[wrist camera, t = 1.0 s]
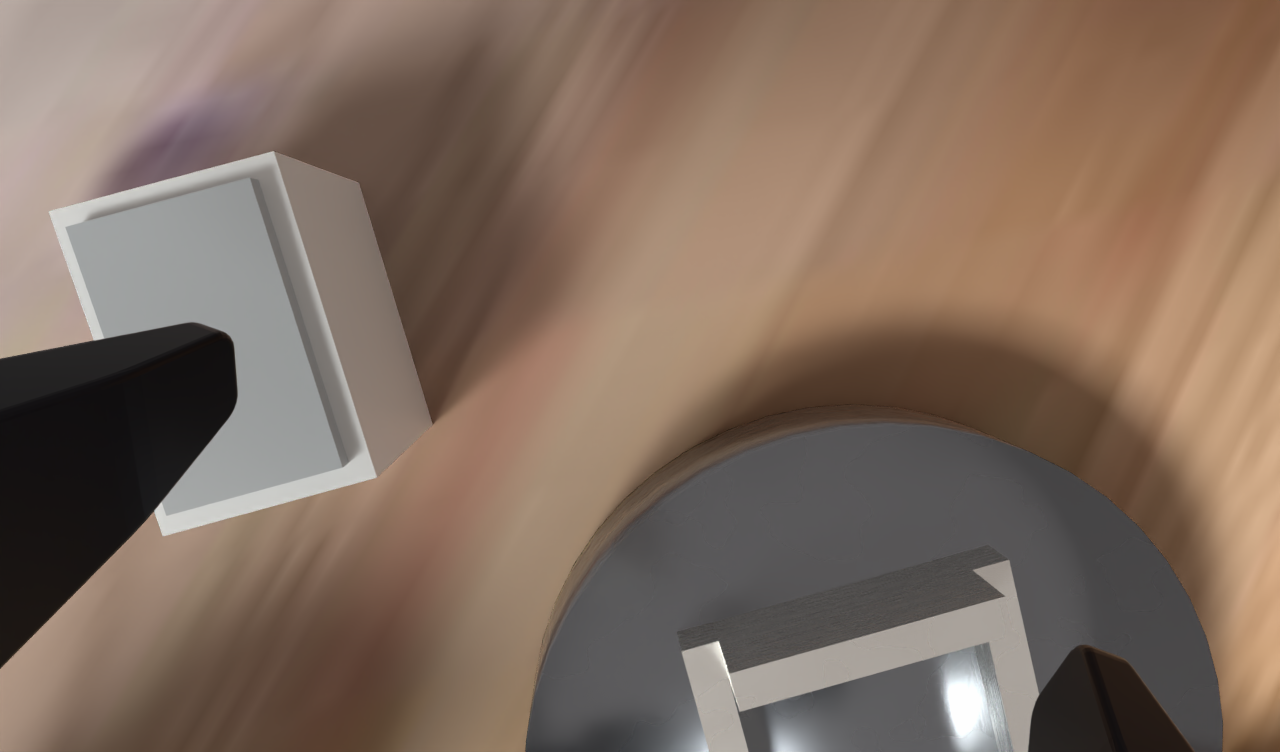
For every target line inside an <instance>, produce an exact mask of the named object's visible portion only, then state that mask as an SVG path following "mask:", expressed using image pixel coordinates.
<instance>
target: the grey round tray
mask: <svg viewBox="0 0 1280 752" xmlns="http://www.w3.org/2000/svg"><path fill="white" fill-rule="evenodd" d="M1078 645H1090V646H1092V647H1095V648H1098V649H1101V650H1103V651H1106V652H1109V653H1112V654H1114V655H1117V656H1120V657H1122V658H1124V659H1125V660H1126V661H1128V662H1129V663H1130V665H1131V666H1132V667H1133V668H1134V669H1135V671H1136V672H1137V673H1138V675H1139V676H1140V678H1141V679H1142V680H1143V682H1144V683H1145V684H1146V686H1147V687H1148V688H1149V690H1150V691H1151V693H1152V694H1153V695H1154V697H1155V698H1156V699H1157V701H1158V702H1159V703H1160V705H1161V706H1162V708H1163V709H1164V710H1165V712H1166V713H1167V714H1168V716H1169V717H1170V719H1171V720H1172V721H1173V723H1174V724H1175V725H1176V727H1177V728H1178V729H1179V731H1180V732H1181V734H1182V735H1183V736H1184V738H1185V739H1186V740H1187V742H1188V743H1189V744H1190V746H1191V747H1192V749H1193V750H1194V751H1195V752H1222V736H1223V720H1222V712H1221V704H1220V695H1219V687H1218V679H1217V675H1216V672H1215V668H1214V664H1213V660H1212V657H1211V653H1210V649H1209V645H1208V642H1207V638H1206V635H1205V633H1204V631H1203V628H1202V626H1201V624H1200V621H1199V619H1198V617H1197V614H1196V612H1195V610H1194V607H1193V605H1192V603H1191V600H1190V598H1189V596H1188V595H1187V593H1186V591H1185V590H1184V588H1183V586H1182V585H1181V583H1180V581H1179V580H1178V578H1177V576H1176V575H1175V573H1174V571H1173V570H1172V568H1171V567H1170V565H1169V563H1168V562H1167V560H1166V559H1165V558H1164V557H1163V555H1162V554H1161V553H1160V552H1159V550H1158V549H1157V548H1156V547H1155V546H1154V544H1153V543H1152V542H1151V541H1150V539H1149V538H1148V537H1147V536H1146V535H1145V533H1144V532H1143V531H1142V530H1141V529H1140V527H1139V526H1138V525H1136V524H1135V523H1134V522H1133V521H1132V520H1131V519H1130V518H1129V517H1128V516H1127V515H1126V514H1124V513H1123V512H1122V511H1121V510H1120V509H1119V508H1118V507H1117V506H1116V505H1115V504H1114V503H1112V502H1111V501H1110V500H1109V499H1108V498H1107V497H1106V496H1104V495H1103V494H1101V493H1100V492H1098V491H1097V490H1095V489H1094V488H1092V487H1091V486H1090V485H1088V484H1087V483H1085V482H1084V481H1082V480H1081V479H1079V478H1078V477H1076V476H1075V475H1073V474H1072V473H1071V472H1069V471H1067V470H1065V469H1063V468H1061V467H1059V466H1057V465H1055V464H1053V463H1051V462H1049V461H1047V460H1045V459H1043V458H1041V457H1039V456H1037V455H1035V454H1033V453H1031V452H1028V451H1026V450H1024V449H1021V448H1019V447H1017V446H1014V445H1012V444H1009V443H1007V442H1005V441H1002V440H1000V439H998V438H995V437H993V436H990V435H988V434H986V433H983V432H981V431H979V430H976V429H974V428H971V427H969V426H966V425H963V424H960V423H957V422H954V421H951V420H948V419H945V418H942V417H939V416H936V415H933V414H928V413H923V412H917V411H912V410H907V409H902V408H896V407H888V406H870V405H853V404H850V405H837V406H824V407H810V408H805V409H800V410H795V411H791V412H786V413H781V414H776V415H771V416H767V417H764V418H762V419H759V420H756V421H753V422H750V423H747V424H744V425H741V426H738V427H736V428H733V429H730V430H727V431H725V432H723V433H721V434H719V435H717V436H715V437H713V438H711V439H709V440H707V441H705V442H703V443H701V444H699V445H697V446H695V447H693V448H691V449H690V450H688V451H687V452H685V453H684V454H682V455H681V456H679V457H678V458H676V459H675V460H673V461H672V462H670V463H669V464H667V465H666V466H664V467H663V468H661V469H660V470H658V471H657V472H655V473H654V474H653V475H652V476H651V477H650V478H648V479H647V480H646V481H645V482H644V483H643V484H642V485H640V486H639V487H638V488H637V489H636V490H635V491H634V492H632V493H631V494H630V495H629V496H628V497H627V498H626V499H624V501H623V502H622V503H621V504H620V505H619V506H618V507H617V508H616V510H615V511H614V512H613V513H612V514H611V515H610V516H609V518H608V519H607V520H606V521H605V522H604V523H603V524H602V525H601V527H600V528H599V529H598V530H597V531H596V533H595V534H594V536H593V537H592V539H591V540H590V542H589V543H588V545H587V546H586V548H585V549H584V550H583V552H582V553H581V555H580V556H579V558H578V559H577V561H576V562H575V564H574V565H573V567H572V569H571V571H570V574H569V576H568V578H567V580H566V582H565V584H564V586H563V588H562V590H561V592H560V594H559V596H558V598H557V600H556V602H555V605H554V608H553V611H552V614H551V617H550V620H549V623H548V626H547V628H546V631H545V634H544V637H543V641H542V646H541V651H540V656H539V662H538V667H537V672H536V677H535V684H534V690H533V697H532V704H531V711H530V718H529V724H528V731H527V738H526V752H1028V745H1029V734H1030V723H1031V716H1032V711H1033V708H1034V705H1035V702H1036V700H1037V698H1038V696H1039V694H1040V693H1041V691H1042V690H1043V689H1044V687H1045V686H1046V685H1047V683H1048V682H1049V680H1050V679H1051V678H1052V676H1053V675H1054V673H1055V672H1056V671H1057V669H1058V668H1059V666H1060V665H1061V664H1062V662H1063V661H1064V660H1065V658H1066V657H1067V655H1068V654H1069V653H1070V652H1071V651H1072V650H1073V649H1074V648H1075V647H1077V646H1078Z"/></svg>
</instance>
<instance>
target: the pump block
mask: <svg viewBox="0 0 1280 752" xmlns="http://www.w3.org/2000/svg"><path fill="white" fill-rule="evenodd" d="M49 214H50V217H51V220H52V223H53V226H54V229H55V231H56V234H57V237H58V240H59V243H60V246H61V248H62V251H63V254H64V257H65V260H66V263H67V265H68V268H69V271H70V274H71V277H72V280H73V283H74V285H75V288H76V291H77V294H78V297H79V300H80V302H81V305H82V308H83V311H84V314H85V317H86V320H87V322H88V325H89V328H90V331H91V334H92V337H93V339H94V340H100V339H105V338H110V337H115V336H120V335H125V334H131V333H136V332H141V331H146V330H151V329H156V328H162V327H167V326H172V325H177V324H182V323H188V322H197V323H201V324H204V325H207V326H209V327H212V328H215V329H218V330H221V331H223V332H225V333H227V334H228V335H229V336H230V337H231V339H232V341H233V343H234V348H235V362H236V375H237V388H238V398H237V403H236V406H235V409H234V411H233V413H232V414H231V416H230V417H229V419H228V420H227V421H226V423H225V424H224V425H223V426H222V428H221V429H220V430H219V431H218V433H217V434H216V435H215V436H214V438H213V439H212V440H211V441H210V443H209V444H208V445H207V446H206V447H205V449H204V450H203V451H202V452H201V454H200V455H199V456H198V457H197V459H196V460H195V461H194V462H193V464H192V465H191V466H190V467H189V469H188V470H187V471H186V472H185V474H184V475H183V476H182V477H181V479H180V480H179V481H178V482H177V484H176V485H175V486H174V487H173V489H172V490H171V491H170V492H169V494H168V495H167V496H166V497H165V498H164V500H163V501H162V502H161V503H160V505H159V506H158V507H157V508H156V509H155V510H154V513H155V516H156V519H157V521H158V524H159V527H160V530H161V533H162V536H166V535H170V534H174V533H177V532H181V531H185V530H188V529H192V528H195V527H199V526H203V525H206V524H210V523H214V522H217V521H221V520H225V519H228V518H232V517H236V516H239V515H243V514H246V513H250V512H254V511H257V510H261V509H265V508H268V507H272V506H276V505H279V504H283V503H286V502H290V501H294V500H297V499H301V498H305V497H308V496H312V495H316V494H319V493H323V492H327V491H330V490H334V489H337V488H341V487H345V486H348V485H352V484H356V483H359V482H363V481H367V480H370V479H374V478H377V477H378V476H379V475H380V474H381V473H382V472H383V471H385V470H386V469H387V468H388V467H389V466H390V465H391V464H392V463H393V462H394V461H395V460H396V459H397V458H398V457H399V456H400V455H401V454H403V453H404V452H405V451H406V450H407V449H408V448H409V447H410V446H411V445H412V444H413V443H414V442H415V441H416V440H417V439H418V438H419V437H421V436H422V435H423V434H424V433H425V432H426V431H427V430H428V429H429V428H430V427H431V426H432V425H433V424H432V420H431V417H430V414H429V410H428V407H427V404H426V401H425V397H424V394H423V391H422V388H421V384H420V381H419V378H418V374H417V371H416V368H415V365H414V361H413V358H412V355H411V352H410V348H409V345H408V342H407V338H406V335H405V332H404V329H403V325H402V322H401V319H400V316H399V312H398V309H397V306H396V302H395V299H394V296H393V293H392V289H391V286H390V283H389V280H388V276H387V273H386V270H385V266H384V263H383V260H382V257H381V253H380V250H379V247H378V243H377V240H376V237H375V234H374V230H373V227H372V224H371V221H370V217H369V214H368V211H367V207H366V204H365V201H364V198H363V194H362V191H361V188H360V185H359V182H356V181H353V180H351V179H348V178H345V177H342V176H340V175H337V174H334V173H332V172H329V171H326V170H323V169H321V168H318V167H315V166H313V165H310V164H307V163H305V162H302V161H299V160H296V159H294V158H291V157H288V156H286V155H283V154H280V153H278V152H275V151H272V152H268V153H265V154H261V155H257V156H253V157H250V158H246V159H242V160H239V161H235V162H231V163H227V164H224V165H220V166H216V167H212V168H209V169H205V170H201V171H197V172H194V173H190V174H186V175H183V176H179V177H175V178H171V179H168V180H164V181H160V182H156V183H153V184H149V185H145V186H142V187H138V188H134V189H130V190H127V191H123V192H119V193H115V194H112V195H108V196H104V197H100V198H97V199H93V200H89V201H86V202H82V203H78V204H74V205H71V206H67V207H63V208H59V209H56V210H52V211H49Z"/></svg>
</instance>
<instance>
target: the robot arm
mask: <svg viewBox="0 0 1280 752" xmlns="http://www.w3.org/2000/svg"><path fill="white" fill-rule="evenodd" d="M237 398H238V388H237V375H236V362H235V348H234V343H233V341H232V339H231V337H230V336H229V335H228V334H227V333H225V332H223V331H221V330H218V329H215V328H212V327H209V326H207V325H204V324H201V323H197V322H188V323H182V324H177V325H172V326H167V327H162V328H156V329H151V330H146V331H141V332H136V333H131V334H125V335H120V336H115V337H110V338H105V339H100V340H94V341H89V342H84V343H79V344H74V345H69V346H63V347H58V348H53V349H48V350H43V351H38V352H33V353H27V354H22V355H17V356H12V357H7V358H2V359H0V669H1V668H2V667H3V665H4V664H5V663H6V662H7V661H8V660H9V659H10V658H11V657H12V656H13V655H14V654H15V653H16V652H17V651H18V650H19V649H20V648H21V647H22V646H23V645H24V644H25V643H26V642H27V641H28V640H29V639H30V638H31V637H32V636H33V635H34V634H35V633H36V632H37V631H38V630H39V629H40V628H41V627H42V626H43V625H44V624H45V623H46V622H47V621H48V620H49V619H50V618H51V617H52V616H53V615H54V614H55V613H56V612H57V611H58V610H59V609H60V608H61V607H62V606H63V605H64V604H65V603H66V602H67V601H68V600H69V599H70V598H71V597H72V596H73V595H74V594H75V593H76V592H77V591H78V590H79V589H80V588H81V587H82V586H83V585H84V584H85V583H86V582H87V581H88V579H89V578H90V577H91V576H92V575H93V574H94V573H95V572H96V571H97V570H98V569H99V568H100V567H101V566H102V565H103V564H104V563H105V562H106V561H107V560H108V559H109V558H110V557H111V556H112V555H113V554H114V553H115V552H116V551H117V550H118V549H119V548H120V547H121V546H122V545H123V544H124V543H125V542H126V541H127V540H128V539H129V538H130V537H131V536H132V535H133V534H134V533H135V532H136V531H137V529H138V528H139V527H140V526H141V525H142V524H143V523H144V522H145V521H146V520H147V519H148V517H149V516H150V515H151V514H152V513H153V512H154V510H155V509H156V508H157V507H158V506H159V505H160V503H161V502H162V501H163V500H164V498H165V497H166V496H167V495H168V494H169V492H170V491H171V490H172V489H173V487H174V486H175V485H176V484H177V482H178V481H179V480H180V479H181V477H182V476H183V475H184V474H185V472H186V471H187V470H188V469H189V467H190V466H191V465H192V464H193V462H194V461H195V460H196V459H197V457H198V456H199V455H200V454H201V452H202V451H203V450H204V449H205V447H206V446H207V445H208V444H209V443H210V441H211V440H212V439H213V438H214V436H215V435H216V434H217V433H218V431H219V430H220V429H221V428H222V426H223V425H224V424H225V423H226V421H227V420H228V419H229V417H230V416H231V414H232V413H233V411H234V409H235V406H236V403H237ZM1028 752H1195V751H1194V750H1193V749H1192V747H1191V746H1190V744H1189V743H1188V742H1187V740H1186V739H1185V738H1184V736H1183V735H1182V734H1181V732H1180V731H1179V729H1178V728H1177V727H1176V725H1175V724H1174V723H1173V721H1172V720H1171V719H1170V717H1169V716H1168V714H1167V713H1166V712H1165V710H1164V709H1163V708H1162V706H1161V705H1160V703H1159V702H1158V701H1157V699H1156V698H1155V697H1154V695H1153V694H1152V693H1151V691H1150V690H1149V688H1148V687H1147V686H1146V684H1145V683H1144V682H1143V680H1142V679H1141V678H1140V676H1139V675H1138V673H1137V672H1136V671H1135V669H1134V668H1133V667H1132V666H1131V665H1130V663H1129V662H1128V661H1126V660H1125V659H1124V658H1122V657H1120V656H1117V655H1114V654H1112V653H1109V652H1106V651H1103V650H1101V649H1098V648H1095V647H1092V646H1090V645H1078V646H1077V647H1075V648H1074V649H1073V650H1072V651H1071V652H1070V653H1069V654H1068V655H1067V657H1066V658H1065V660H1064V661H1063V662H1062V664H1061V665H1060V666H1059V668H1058V669H1057V671H1056V672H1055V673H1054V675H1053V676H1052V678H1051V679H1050V680H1049V682H1048V683H1047V685H1046V686H1045V687H1044V689H1043V690H1042V691H1041V693H1040V694H1039V696H1038V698H1037V700H1036V702H1035V705H1034V708H1033V711H1032V716H1031V723H1030V734H1029V745H1028Z"/></svg>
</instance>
